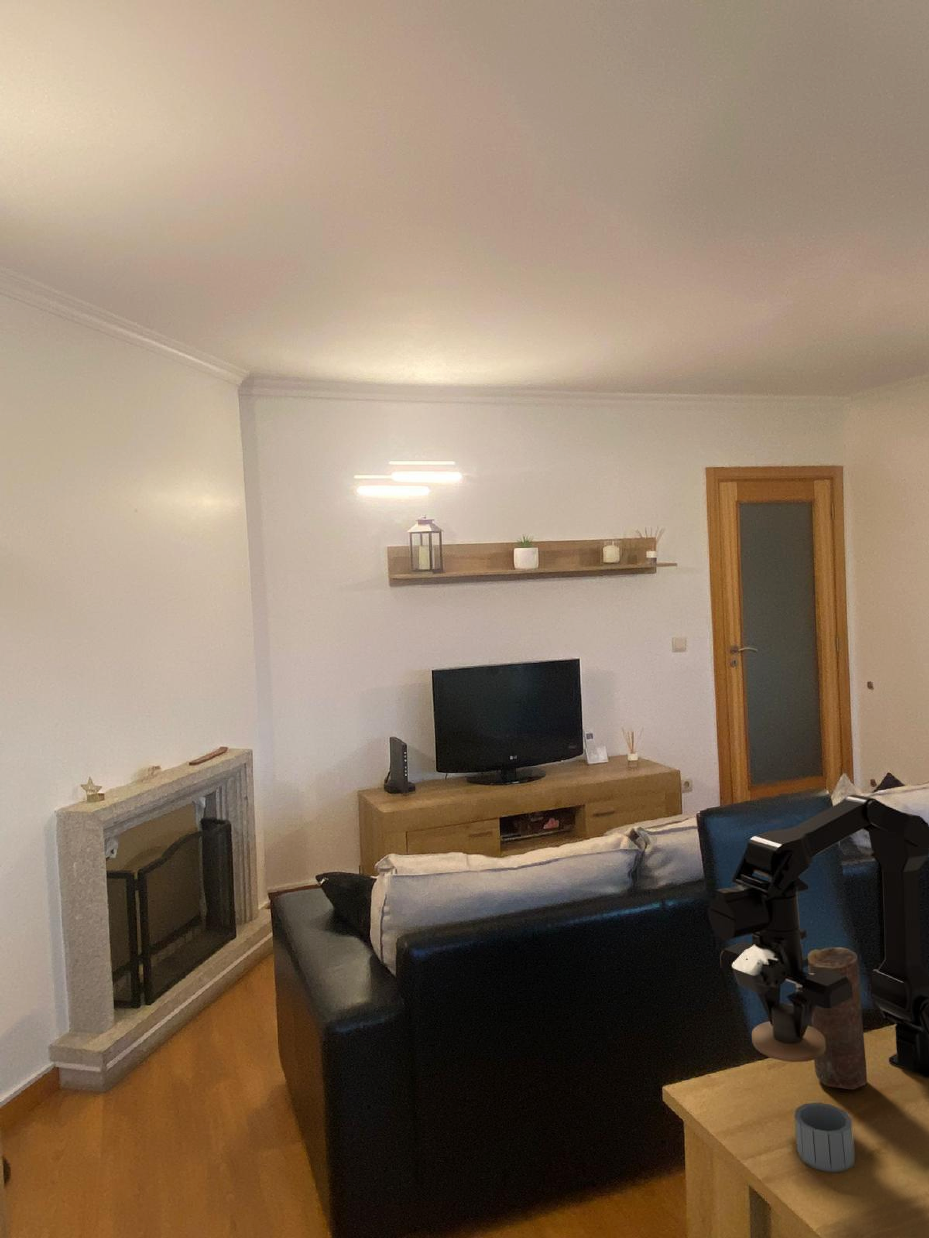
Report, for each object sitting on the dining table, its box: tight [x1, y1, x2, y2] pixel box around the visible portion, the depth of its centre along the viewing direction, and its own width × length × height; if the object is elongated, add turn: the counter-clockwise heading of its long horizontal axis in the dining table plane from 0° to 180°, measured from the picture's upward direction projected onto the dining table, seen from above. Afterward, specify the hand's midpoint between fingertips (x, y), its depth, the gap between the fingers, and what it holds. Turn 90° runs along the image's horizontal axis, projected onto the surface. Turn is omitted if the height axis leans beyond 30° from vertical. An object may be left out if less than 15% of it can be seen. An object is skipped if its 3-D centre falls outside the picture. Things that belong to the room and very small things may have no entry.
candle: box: [807, 947, 868, 1090], centre depth 129 cm, size 8×7×20 cm
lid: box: [751, 1002, 826, 1063], centre depth 123 cm, size 10×10×5 cm
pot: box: [794, 1102, 856, 1173], centre depth 113 cm, size 7×7×5 cm
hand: (787, 1030), depth 123 cm, fingers closed on lid, 4 cm apart
